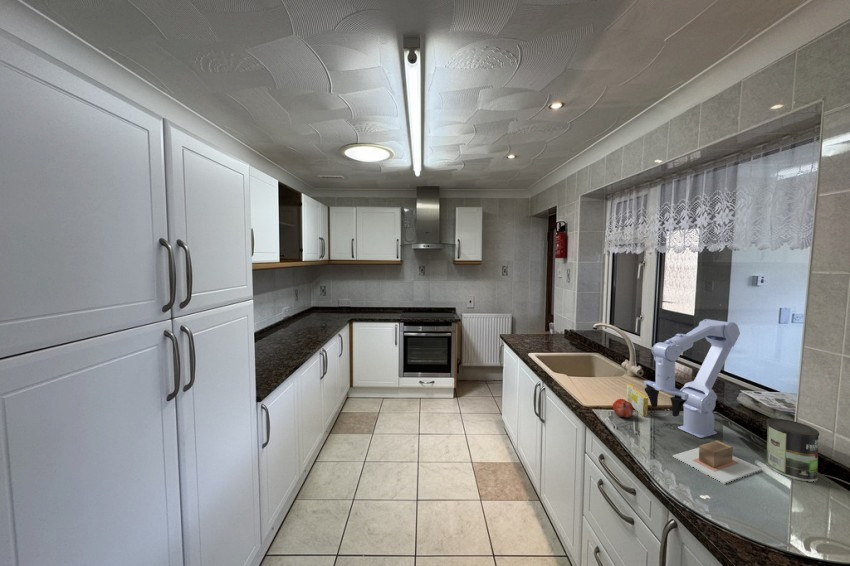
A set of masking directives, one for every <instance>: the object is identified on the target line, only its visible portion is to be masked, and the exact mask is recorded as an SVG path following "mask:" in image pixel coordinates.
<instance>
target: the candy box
mask: <svg viewBox="0 0 850 566" xmlns="http://www.w3.org/2000/svg"><path fill="white" fill-rule="evenodd" d="M625 400H626V401H627V402H629V403H631V404H632V406H633V410H635V411H636V412H637V411H638V413H639V414H640V415H641V416H642V417H643V416H644V417H645V418H647V417H648V408H649V397H648V396H646V395H645V394H643V393H642V392H640V391H639V390H638V389H637V388H636V387H635V386H633V384H630V383H629V384H626V399H625ZM644 417H643V418H644Z"/></svg>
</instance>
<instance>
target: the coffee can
mask: <svg viewBox="0 0 850 566" xmlns="http://www.w3.org/2000/svg"><path fill="white" fill-rule="evenodd" d="M766 424H767V427H766V429H767V434H766V435H767V437H766V438H767V439H766V441H767V442H766V466H767V467H769V469H770V470H772V471H774V472H776V473H778V474H780V475H782V476H784V477H786V478H790V479H793V480H797V481H801V482H806V481H808V482H807V483H813V481H814V482H817V481H818V468H819V467H818V465H819V464H818V462H819V436H820V432H819V431H818V430H817V429H816V428H814V427H812V426H810V425H807V424H805V423H801V422H799V421H798V422H797V421H795V420H790V419H785V418H774V417H773V418H768V419H766Z"/></svg>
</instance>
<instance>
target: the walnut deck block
mask: <svg viewBox="0 0 850 566" xmlns="http://www.w3.org/2000/svg"><path fill="white" fill-rule="evenodd" d="M698 448H699V461H700V462H702V463H704V464H706V465H708V466H710V467H712V468H716V467H719V466H722V465H725V464H728V463H731V462H732V455H733V451H734V450H733V448H734V447H733V446H732V445H731V444H728V443H724V442H722V441H720V440H717V439H716V440H713V441H711V442H707V443H704V444H700V445H699V446H698Z"/></svg>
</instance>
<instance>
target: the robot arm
mask: <svg viewBox="0 0 850 566" xmlns="http://www.w3.org/2000/svg"><path fill="white" fill-rule="evenodd" d="M740 335H741V332H740V328H739V325H738V324H737V323H736V322H731V321H730V322H729V321H724V320H723V321H722V320H717V319H710V318H705V319H703V320H700V321H699V323H698V325H697V326H696V327H694V328H693V329H692V330H690V331H688V332H687V333H686V334H685V333H676V334H675V335H674V336H673V337H671V338H669V339H666V340H665V341H663V342H662V341H661V342H657V343H655V344H654V345H653V346H652V349H651V353H652V355H653V360H654V361H655V381H651V380H644V381H643V387H645V388H644V392H645V393H646V395H647V398H648V401H649V402H650V406H651V408H653V409H654V408H657V407H658V404H659V403H658V401H659V400H658V399H659V398H658V397H659V394H660V392H663V393H666V394H668V395H672V397H670V401H671V402H670V403H671V408H672V411H671V412H672V413H671V414H672V416H673V417H675V418H676V417H679V415H680V412H681V410H682V408H683V421H682V422H683V425H680V426H679V425H678V426H677V428H678V429H679V430H681V431H683V432H686V433H687V434H691V435H692V436H694V437H697V438H699V439H703V438H708V437H710V436H714V435H716V434H717V433H718V432H717V431H715V414H714V412H713V411H714V410H715V408H716V401H717V399H718V395H717V394H716V392H715V391H714V390H713V386H714V384H715V382H716V381H717V378H718V376H719V375H720V373H721V370H722V369H723V367H724V365H725V362H726V360H727V359H728V357H729V355H730V353H731V350H732V348H733V347H734V346H735V345H736V342H737V340H738V339H739V337H740ZM704 338H705V340H706V341H707V342H708V343H710V345H711V346H710V348H709V350H708V351H707V355H706V356H705V358H704V360H703V362H702V364H701V366H700V368H699V369H698V372H697V374H696V377H695V378H694V380H692V381H689V382H685V384H684V386H682V387H681V389H678V388H676V361H677V360H678V359H679V358H680V355H682V354H683V352H685V351H687V350H690V349H691V348H692V347H693V346H694V343H695V342H698V341H699V340H702V339H704ZM717 435H718V434H717Z"/></svg>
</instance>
